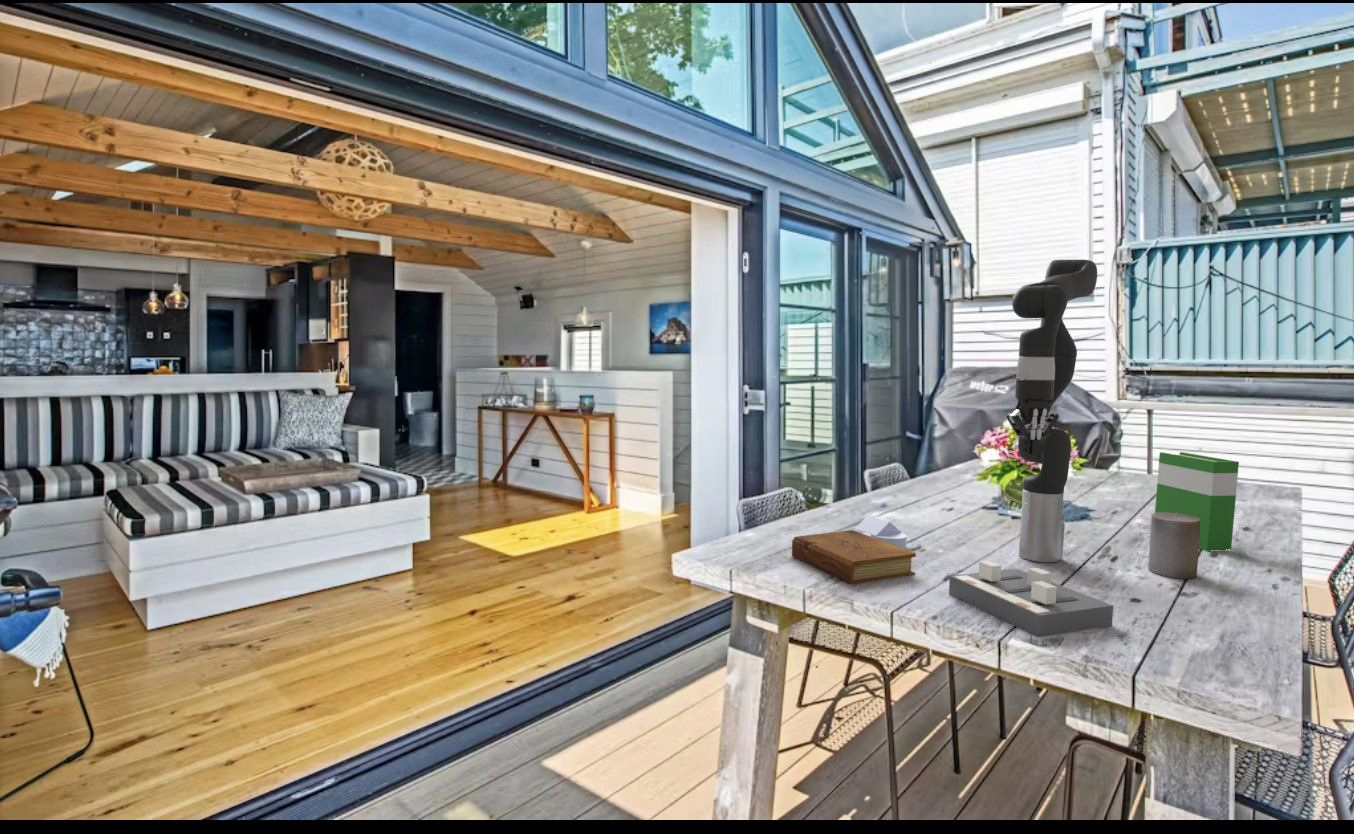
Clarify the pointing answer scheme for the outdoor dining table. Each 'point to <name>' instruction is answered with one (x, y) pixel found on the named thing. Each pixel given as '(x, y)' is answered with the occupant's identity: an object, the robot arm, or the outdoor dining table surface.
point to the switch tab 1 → (989, 571)
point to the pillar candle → (1174, 545)
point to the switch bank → (1031, 604)
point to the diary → (853, 556)
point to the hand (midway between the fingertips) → (1030, 456)
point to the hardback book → (1200, 494)
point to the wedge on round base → (883, 531)
